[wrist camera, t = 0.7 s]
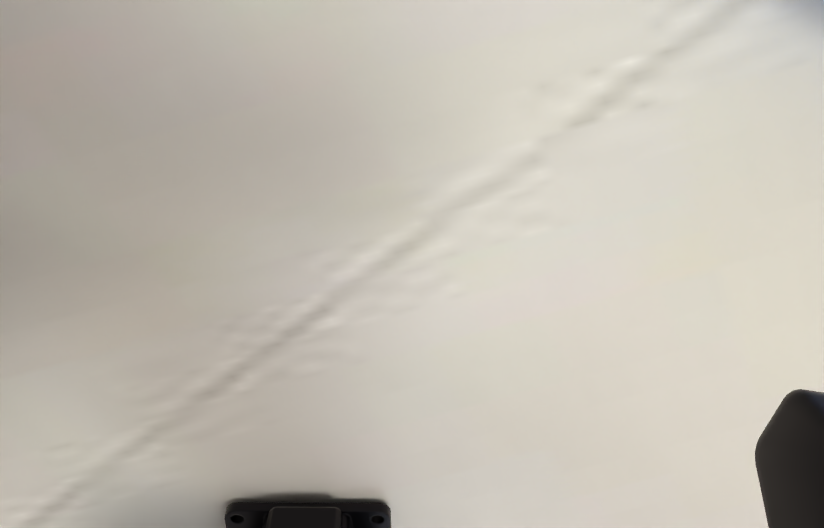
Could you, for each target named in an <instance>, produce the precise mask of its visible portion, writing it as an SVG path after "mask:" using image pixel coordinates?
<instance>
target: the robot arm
mask: <svg viewBox="0 0 824 528" xmlns="http://www.w3.org/2000/svg"><path fill="white" fill-rule="evenodd" d="M755 462H756V468H757V473H758V478H759V482H760V487H761V492H762V497H763V502H764V507H765V512H766V516H767V521H768V526H769V528H824V393H823V392H816V391H809V390H802V389H798V390H793V391H792V392H790V393H789V394H787V395H786V397H785V398H784V399H783V401H782V402H781V404H780V406H779V407H778V409H777V410H776V412H775V414H774V415H773V417H772V418H771V420H770V422H769V423H768V425H767V426H766V428H765V430H764V431H763V433H762V434H761V436H760V438H759V440H758V442H757V446H756V451H755ZM225 523H226V527H227V528H391V511H390V508H389V507H388V506H387V505H385V504H382V503H257V502H237V503H232V504H230V505H229V506H228V507H227V510H226V514H225Z"/></svg>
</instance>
